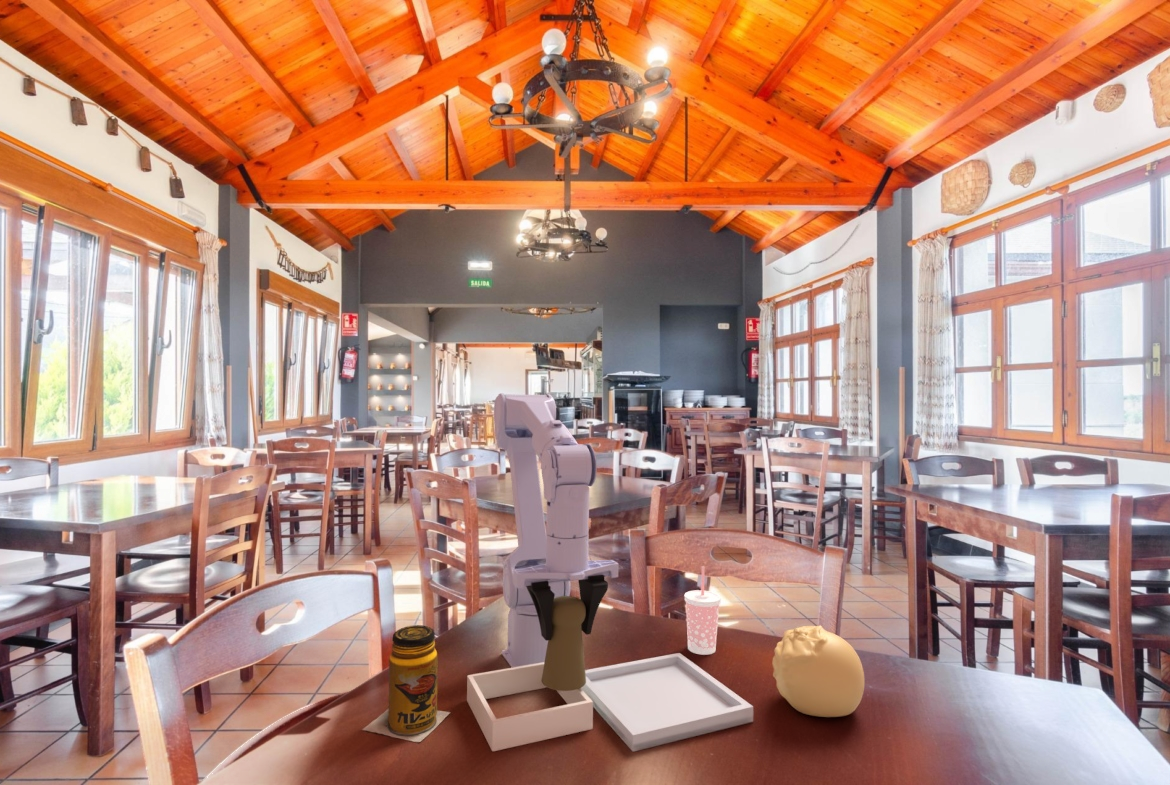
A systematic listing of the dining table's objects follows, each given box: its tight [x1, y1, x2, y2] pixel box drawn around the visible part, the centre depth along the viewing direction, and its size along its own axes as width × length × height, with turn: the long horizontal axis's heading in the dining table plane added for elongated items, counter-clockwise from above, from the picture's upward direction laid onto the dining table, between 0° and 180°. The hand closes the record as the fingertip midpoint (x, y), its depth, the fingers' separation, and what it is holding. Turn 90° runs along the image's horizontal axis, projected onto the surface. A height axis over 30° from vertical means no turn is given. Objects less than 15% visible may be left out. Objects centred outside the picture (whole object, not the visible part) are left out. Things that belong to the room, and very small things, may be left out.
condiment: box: [361, 624, 451, 743], centre depth 81 cm, size 7×8×12 cm
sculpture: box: [772, 625, 865, 718], centre depth 87 cm, size 12×12×11 cm
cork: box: [541, 595, 586, 691], centre depth 84 cm, size 6×6×11 cm
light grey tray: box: [581, 652, 754, 752], centre depth 87 cm, size 18×18×2 cm
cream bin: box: [466, 662, 594, 753], centre depth 83 cm, size 13×13×4 cm
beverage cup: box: [683, 565, 722, 656], centre depth 105 cm, size 6×6×14 cm
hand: (566, 634), depth 84 cm, fingers closed on cork, 5 cm apart
